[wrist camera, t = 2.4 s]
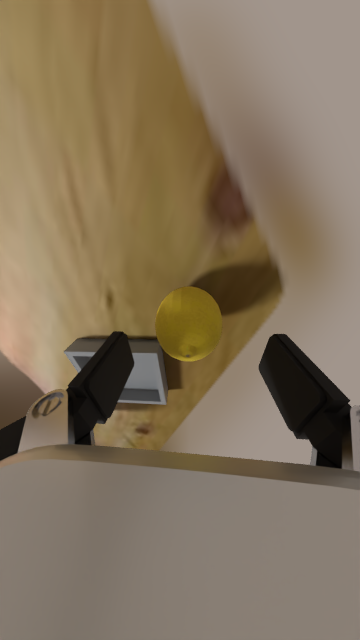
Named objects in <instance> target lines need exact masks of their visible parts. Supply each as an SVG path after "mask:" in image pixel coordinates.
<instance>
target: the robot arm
mask: <svg viewBox="0 0 360 640" xmlns="http://www.w3.org/2000/svg"><path fill="white" fill-rule="evenodd" d="M133 367H134V358H133V355H132V352H131V348H130V345H129V342H128V338H127V335H126V334H124V332H116V331H115V332H113V333H112V334H111V335H110V336H109V337H108V339H107V340H106V341H105V342H104V343H103V345H102V346H101V347H100V348H99V349H98V351H97V352H96V353H95V354H94V355H93V356H92V358H91V359H90V360H89V361H88V362H87V364H86V365H85V366H84V367H83V368H82V369H81V371H80V372H79V373H78V374H77V375H76V377H75V378H74V379H73V380H72V381H71V382H70V384H69V385H68V389H67V390H64V389H57V390H53V391H51V392H49V393H47V394H45V395H43V396H42V397H41V398H39V399H38V400H37V401H36V402H35V403H34V404H33V405H32V406H31V408H30V409H29V411H28V413H27V416H25V417H23V418H21V419H19V420H17V421H16V422H14V423H12V424H10V425H8V426H6V427H4V428H3V429H1V430H0V640H360V406H353V407H351V406H350V405H349V404H348V402H349V401H350V400H349V399H348V398H347V397H346V396H345V395H344V394H343V393H342V392H341V391H340V390H339V389H338V388H337V386H336V385H335V384H334V383H333V382H332V381H331V380H330V379H328V377H327V376H326V375H325V374H324V373H323V372H322V371H321V370H320V369H319V368H318V367H317V366H316V365H315V364H314V363H313V362H312V361H311V360H310V359H309V358H308V357H307V356H306V355H305V354H304V353H303V352H302V351H301V349H299V347H298V346H296V344H295V343H294V342H293V341H292V340H291V339H290V338H289V337H288V336H287V335H285V334H274V335H272V336H271V337H270V338H269V340H268V343H267V345H266V348H265V351H264V353H263V356H262V359H261V361H260V364H259V371H260V373H261V375H262V377H263V379H264V381H265V383H266V385H267V387H268V389H269V391H270V392H271V395H272V397H273V399H274V401H275V403H276V405H277V407H278V409H279V411H280V413H281V414H282V417H283V418H284V420H285V423H286V424H287V426H288V428H289V429H290V430H291V431H293V433H294V435H295V436H296V438H297V439H309V441H310V442H311V444H312V455H311V462H310V465H303V464H293V463H283V462H273V461H263V460H252V459H241V458H231V457H219V456H209V455H199V454H188V453H176V452H165V451H154V450H143V449H131V448H119V447H107V446H95V440H94V433H93V428H94V426H95V424H96V423H99V424H105V423H106V421H107V419H108V418H110V416H111V415H112V413H113V411H114V409H115V406H116V404H117V402H118V400H119V398H120V395H121V393H122V391H123V389H124V387H125V385H126V382H127V380H128V378H129V376H130V374H131V371H132V369H133Z"/></svg>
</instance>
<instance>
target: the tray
mask: <svg viewBox="0 0 360 640" xmlns="http://www.w3.org/2000/svg"><path fill="white" fill-rule="evenodd" d="M106 340H107V339H76V340H75V341H74V342H73V343H72V344H71V345H70V346H69V347H68V348H67V349H66V350H65V351H64V353H65V354H66V356H67V357H68V359H69V360H70V361H71V363H72V364H73V366H74V367H75V369H76V370H77V372H78V373H79V372H80V371H81V369H82V368H83V367H84V366H85V365H86V364H87V362H88V361H89V360H90V359H91V358H92V356H93V355H94V354H95V353H96V352H97V351H98V349H99V348H100V347H101V346H102V345H103V343H104V342H105V341H106ZM128 342H129V345H130V348H131V352H132V355H133V358H134V367H133V369H132V371H131V374H130V376H129V378H128V380H127V382H126V385H125V387H124V389H123V391H122V393H121V395H120V398H119V400H118V402H124V403H144V404H165V405H166V403H167V396H168V385H167V378H166V372H165V365H164V358H163V352H162V347H161V345H160V343H159V341H158V340H146V339H128Z"/></svg>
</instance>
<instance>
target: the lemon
mask: <svg viewBox="0 0 360 640" xmlns="http://www.w3.org/2000/svg"><path fill="white" fill-rule="evenodd" d="M155 328H156V335H157V339H158V341H159V343H160V345H161V347H162V348H163V349H164V350H165V352H166V353H168V354H169V355H170V356H172V357H174V358H176V359H178V360H182V361H196V360H199V359H202V358H204V357H206V356H207V355H209V354H210V353H211V352H212V351H213V350H214V349H215V347H216V346H217V344H218V343H219V340H220V337H221V333H222V316H221V312H220V309H219V306H218V304H217V303H216V302H215V300H214V299H213V297H212V296H211V295H209V294H208V293H207V292H206V291H204V290H202V289H200V288H196V287H191V286H190V287H182V288H179V289H176V290H174V291H173V292H171V293H169V294H168V295H167V296H166V297H165V299H164V300H163V301H162V302H161V304H160V307H159V309H158V311H157V315H156V322H155Z"/></svg>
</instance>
